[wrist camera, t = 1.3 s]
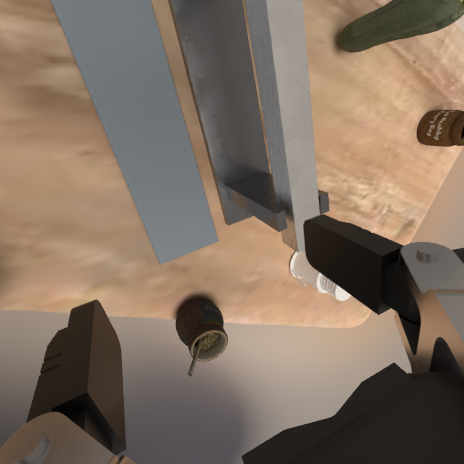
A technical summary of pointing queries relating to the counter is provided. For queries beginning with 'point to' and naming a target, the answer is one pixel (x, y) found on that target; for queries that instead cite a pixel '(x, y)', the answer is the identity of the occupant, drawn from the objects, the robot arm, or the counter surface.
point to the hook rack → (229, 108)
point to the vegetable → (400, 22)
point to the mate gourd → (201, 330)
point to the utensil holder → (442, 128)
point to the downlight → (314, 277)
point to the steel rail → (286, 109)
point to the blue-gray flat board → (141, 118)
